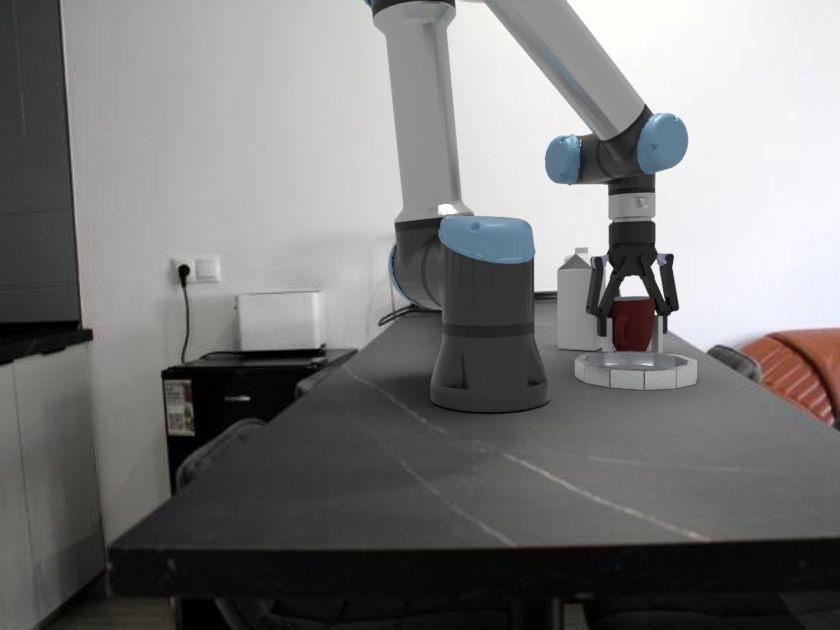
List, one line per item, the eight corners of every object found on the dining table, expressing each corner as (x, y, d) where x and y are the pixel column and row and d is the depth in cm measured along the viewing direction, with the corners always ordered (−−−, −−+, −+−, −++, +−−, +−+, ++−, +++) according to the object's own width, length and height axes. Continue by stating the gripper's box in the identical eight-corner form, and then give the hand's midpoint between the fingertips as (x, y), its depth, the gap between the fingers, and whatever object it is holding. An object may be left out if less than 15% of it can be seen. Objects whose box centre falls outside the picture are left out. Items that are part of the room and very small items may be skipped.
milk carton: (606, 346, 119) (606, 246, 117) (594, 352, 113) (594, 247, 111) (569, 344, 122) (569, 247, 120) (557, 349, 116) (556, 248, 114)
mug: (650, 363, 100) (648, 301, 99) (599, 362, 104) (597, 302, 103) (659, 352, 109) (657, 295, 108) (612, 351, 113) (610, 296, 112)
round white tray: (599, 392, 81) (599, 373, 81) (562, 368, 98) (562, 353, 97) (720, 386, 82) (720, 368, 82) (663, 364, 99) (663, 349, 98)
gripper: (577, 221, 100) (579, 361, 102) (703, 217, 101) (702, 354, 103) (564, 224, 107) (565, 353, 109) (681, 219, 108) (680, 348, 111)
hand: (632, 354), depth 106 cm, fingers closed on mug, 8 cm apart
